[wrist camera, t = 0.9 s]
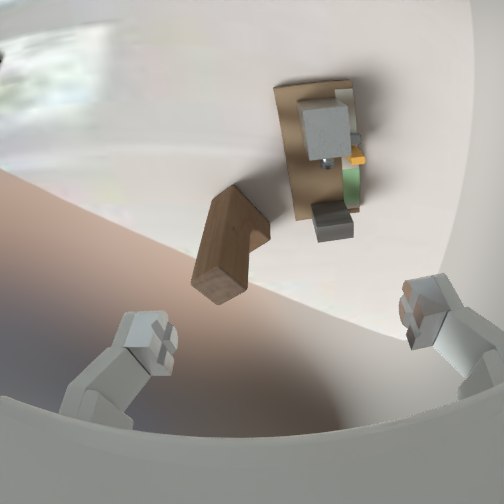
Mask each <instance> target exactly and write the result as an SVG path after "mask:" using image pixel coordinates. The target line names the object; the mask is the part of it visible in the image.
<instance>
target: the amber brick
mask: <svg viewBox="0 0 504 504" xmlns="http://www.w3.org/2000/svg"><path fill="white" fill-rule="evenodd" d="M351 154H352V156H346V157H347V159H348V160H349V162H350V163H351V165H359V164H365V156H364V155H363V153H362V152H361V151H360V150H359V149H358V147H357V146H351Z"/></svg>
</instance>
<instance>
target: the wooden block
mask: <svg viewBox="0 0 504 504" xmlns="http://www.w3.org/2000/svg"><path fill="white" fill-rule="evenodd" d="M270 239H271V238H270V223H269V222H268V221H267V220H266V219H265V218H264V216H263V215H262V214H261V213H260V212H259V211H258V210H257V209H256V208H255V207H254V206H253V205H252V204H251V203H250V202H249V200H248V199H247V198H246V197H245V196H244V195H243V194H242V193H241V192H240V191H239V190H238V189H237V188H236V187H235V186H234V185H232V186H230V187H229V188H227V189H226V190H225V191H223V192H222V193H221V194H219V195H218V196H217V197H216V198H214V199H213V200H212V202H211V206H210V209H209V213H208V217H207V220H206V224H205V228H204V232H203V236H202V239H201V243H200V247H199V251H198V255H197V259H196V263H195V267H194V271H193V275H192V279H191V285H192V286H193V287H194V288H195V289H197V290H198V291H199V292H201V293H202V294H203V295H204V296H206V297H207V298H209V299H210V300H211V301H212V302H214V303H215V304H216V305H220V304H222V303H224V302H226V301H228V300H230V299H232V298H234V297H235V296H237V295H239V294H241V293H243V292H245V291H246V290H247V288H248V268H249V253H250V252H252V251H253V250H255V249H256V248H258V247H260V246H261V245H263V244H265V243H266V242H268V241H269V240H270Z"/></svg>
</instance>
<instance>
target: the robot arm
mask: <svg viewBox="0 0 504 504" xmlns="http://www.w3.org/2000/svg"><path fill="white" fill-rule="evenodd" d="M402 290H403V292H404V295H403V296H402V297H401V298H400V301H399V315H400V319H401V322H402V325H404V326H405V327H406V328H408V330H407V333H406V336H407V339H408V342H409V345H410V348H411V350H416V349H420V348H425V347H429V346H433V348H435V350H436V351H438V352H439V353H440V354H441V355H442V356H443V357H444V358H445V359H446V360H447V361H448V362H449V363H450V364H451V365H452V366H453V367H454V368H455V369H456V370H457V371H458V372H459V373H460V374H461V375H462V376H463V377H464V378H465V380H464V381H463V383H462V384H461V385H460V387H459V388H458V389H457V391H456V393H457V396H458V400H459V401H456V402H453V403H450V404H448V405H444V406H442V407H438V408H435V409H432V410H429V411H425V412H422V413H418V414H415V415H411V416H407V417H403V418H400V419H395V420H391V421H387V422H383V423H377V424H373V425H368V426H362V427H357V428H351V429H345V430H339V431H332V432H324V433H316V434H307V435H298V436H297V435H296V436H283V437H267V438H266V437H264V438H209V437H189V436H177V435H166V434H157V433H149V432H142V431H135V430H132V427H133V420H132V419H131V418H130V417H129V416H127V415H126V414H124V413H123V412H124V411H125V409H126V408H127V407H128V406H129V404H130V403H131V401H132V400H133V399H134V398H135V396H136V395H137V394H138V393H139V391H140V390H141V389H142V387H143V386H144V385H145V384H146V382H147V381H148V380H149V378H150V377H151V375H153V376H167V375H168V376H169V375H171V373H172V368H173V364H174V359H173V357H172V354H173V353H174V352H175V351H176V350H177V345H178V335H177V331H176V329H175V327H174V325H172V324H171V323H169V322H168V318H169V317H168V315H167V314H166V312H165V311H138V312H126V313H125V314H124V315H123V318H122V320H121V323H120V325H119V328H118V330H117V333H116V336H115V339H114V341H113V344H112V346H111V347H108V348H107V349H106V350H105V351H104V352H103V353H101V354H100V355H99V356H98V357H97V358H96V359H95V360H94V361H93V362H92V363H91V364H90V365H89V366H88V367H87V368H86V369H85V370H84V371H83V372H82V373H81V374H79V375H78V377H76V378H75V379H74V380H73V381H72V382H71V383H70V384H69V385H68V388H67V390H66V393H65V396H64V399H63V402H62V405H61V408H60V411H59V414H56V413H53V412H50V411H46V410H43V409H40V408H37V407H34V406H31V405H28V404H25V403H22V402H19V401H17V400H14V399H12V398H9V397H6V396H0V504H504V331H502V330H501V329H500V328H498V327H497V326H495V325H494V324H493V323H491V322H490V321H488V320H487V319H485V318H484V317H482V316H481V315H479V314H478V313H476V312H475V311H473V310H472V309H471V308H469V307H464V306H463V304H462V302H461V300H460V298H459V297H458V295H457V293H456V291H455V289H454V288H453V286H452V284H451V282H450V281H449V279H448V278H447V276H446V275H445V274H444V273H442V274H437V275H432V276H426V277H421V278H416V279H411V280H405V282H404V283H403V287H402Z"/></svg>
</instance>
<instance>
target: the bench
mask: <svg viewBox="0 0 504 504" xmlns="http://www.w3.org/2000/svg"><path fill="white" fill-rule="evenodd" d="M273 89H274V94H275V99H276V105H277V110H278V115H279V121H280V126H281V132H282V137H283V143H284V149H285V155H286V161H287V167H288V173H289V179H290V186H291V192H292V199H293V205H294V212H295V219H296V221H298V220H305V219H312V220H313V224H314V228H315V232H316V236H317V240H318V243H319V242H326V241H333V240H340V239H347V238H353V235H354V222H353V220H352V218H351V216H350V213H357V212H359V207H360V173H359V165H351V163H350V162H349V160H348V159H347V157H346V156H344V157H335V158H334V168H332V169H322V168H321V167H320V159H319V160H311V161H310V160H309V158H308V155H307V153H306V150H305V148H304V145H303V141H302V134H301V127H300V121H299V114H298V108H297V102H296V101H303V100H311V99H320V98H331V97H335V98H337V99H338V100H340V101H341V102H342V103H344V104H345V105H346V106H348V116H349V127H350V133H356V132H357V126H356V114H355V103H354V93H353V88H352V81H350V80H338V81H325V82H314V83H305V84H297V85H289V86H282V87H275V88H273ZM351 146H357V147H358V144H351Z"/></svg>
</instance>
